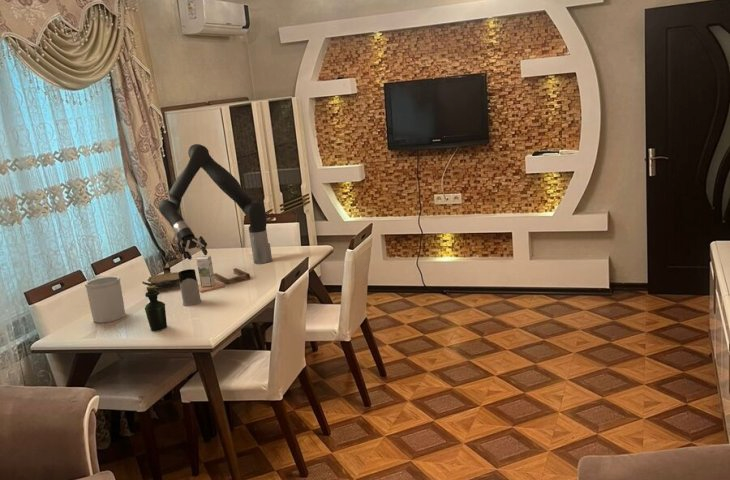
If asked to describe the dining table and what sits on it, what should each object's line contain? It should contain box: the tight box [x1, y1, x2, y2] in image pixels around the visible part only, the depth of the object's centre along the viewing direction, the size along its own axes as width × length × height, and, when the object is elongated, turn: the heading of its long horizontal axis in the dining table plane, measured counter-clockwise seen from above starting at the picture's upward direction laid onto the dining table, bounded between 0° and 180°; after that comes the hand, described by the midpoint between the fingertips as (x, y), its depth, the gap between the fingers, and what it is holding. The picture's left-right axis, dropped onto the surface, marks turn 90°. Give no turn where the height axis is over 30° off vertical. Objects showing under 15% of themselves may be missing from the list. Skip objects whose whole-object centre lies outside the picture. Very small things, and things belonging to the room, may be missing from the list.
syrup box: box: [196, 254, 215, 287], centre depth 348 cm, size 6×6×14 cm
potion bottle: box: [144, 285, 168, 332], centre depth 294 cm, size 8×8×18 cm
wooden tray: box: [214, 268, 251, 286], centre depth 361 cm, size 13×18×2 cm
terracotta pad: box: [198, 280, 226, 294], centre depth 350 cm, size 12×12×1 cm
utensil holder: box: [84, 275, 126, 324], centre depth 318 cm, size 15×15×18 cm
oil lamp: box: [141, 262, 180, 289], centre depth 364 cm, size 22×30×8 cm
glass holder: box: [178, 268, 203, 307], centre depth 328 cm, size 9×14×15 cm, turn 15°
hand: (198, 256), depth 350 cm, fingers open, 8 cm apart
